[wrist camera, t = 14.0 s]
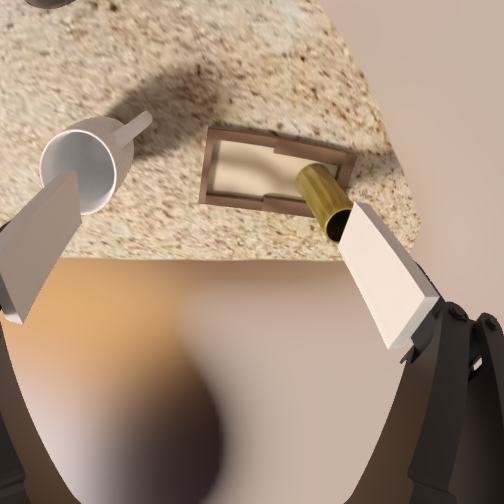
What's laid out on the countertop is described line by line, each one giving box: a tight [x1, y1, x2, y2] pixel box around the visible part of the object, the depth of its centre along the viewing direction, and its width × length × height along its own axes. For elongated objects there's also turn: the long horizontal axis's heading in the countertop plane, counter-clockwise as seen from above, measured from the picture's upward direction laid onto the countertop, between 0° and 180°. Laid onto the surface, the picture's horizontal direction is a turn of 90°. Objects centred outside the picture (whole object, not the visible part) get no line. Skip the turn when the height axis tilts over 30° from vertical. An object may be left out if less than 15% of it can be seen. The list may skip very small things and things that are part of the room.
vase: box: [296, 164, 354, 244], centre depth 41 cm, size 6×6×14 cm
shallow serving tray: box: [198, 127, 357, 218], centre depth 45 cm, size 12×23×2 cm, turn 79°
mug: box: [40, 111, 153, 215], centre depth 34 cm, size 15×11×13 cm
